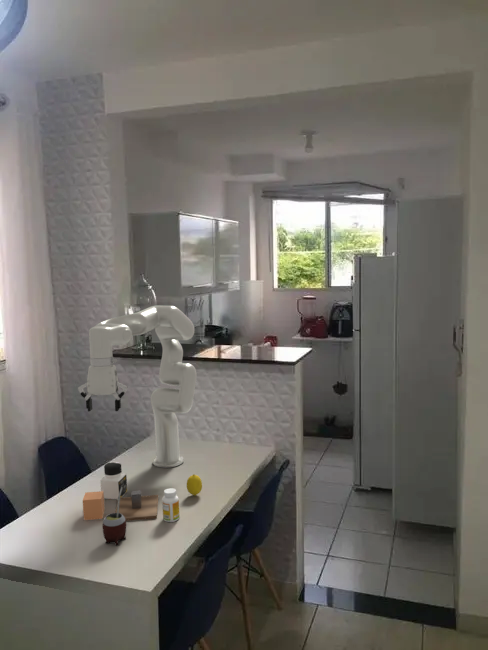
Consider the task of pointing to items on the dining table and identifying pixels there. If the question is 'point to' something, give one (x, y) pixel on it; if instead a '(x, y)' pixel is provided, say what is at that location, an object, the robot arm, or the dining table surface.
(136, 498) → the post
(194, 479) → the lemon
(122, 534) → the mate gourd
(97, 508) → the tan wooden cube
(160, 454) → the robot arm
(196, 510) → the dining table surface
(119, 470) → the medicine bottle
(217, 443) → the dining table surface
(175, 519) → the supplement bottle
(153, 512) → the base board
